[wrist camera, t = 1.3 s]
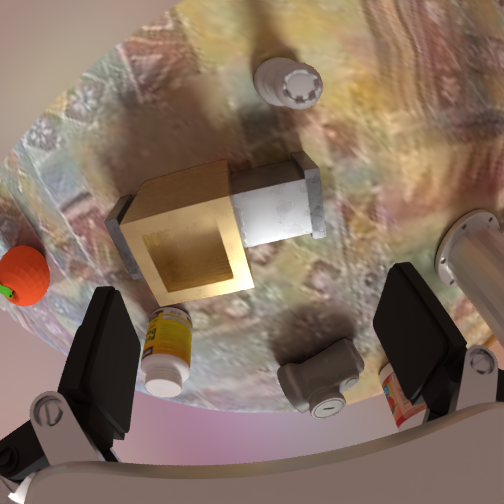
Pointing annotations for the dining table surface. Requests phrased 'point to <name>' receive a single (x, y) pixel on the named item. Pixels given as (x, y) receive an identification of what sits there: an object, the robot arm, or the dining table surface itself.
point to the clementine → (24, 275)
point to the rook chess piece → (288, 83)
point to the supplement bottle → (167, 351)
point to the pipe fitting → (322, 379)
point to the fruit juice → (400, 401)
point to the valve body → (213, 224)
